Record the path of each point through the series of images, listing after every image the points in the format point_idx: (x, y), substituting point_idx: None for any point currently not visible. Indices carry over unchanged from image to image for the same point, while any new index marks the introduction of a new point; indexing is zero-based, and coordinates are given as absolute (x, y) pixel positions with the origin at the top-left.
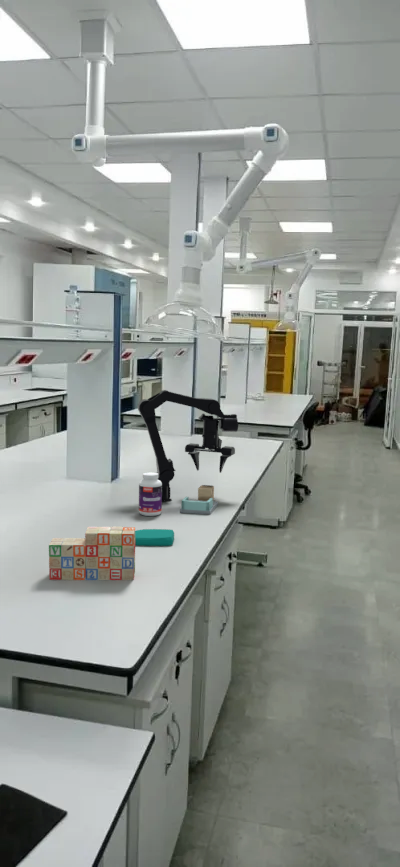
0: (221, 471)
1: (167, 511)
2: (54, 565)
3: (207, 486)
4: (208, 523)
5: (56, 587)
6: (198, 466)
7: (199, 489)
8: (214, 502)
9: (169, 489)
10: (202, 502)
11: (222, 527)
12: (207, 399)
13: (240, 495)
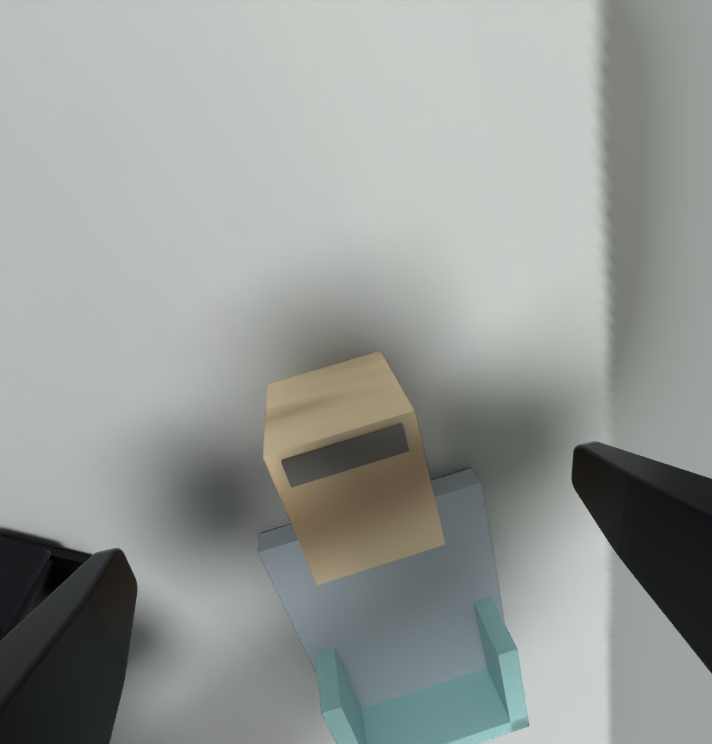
0: (606, 454)
1: (265, 724)
2: None
3: (358, 470)
4: (541, 738)
5: None
6: (102, 645)
7: (329, 573)
8: (468, 520)
9: (11, 629)
10: (488, 738)
11: (609, 741)
12: None
13: (565, 17)
